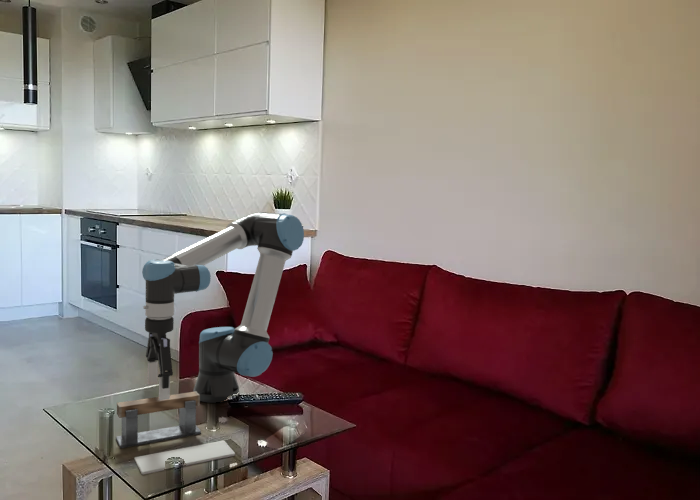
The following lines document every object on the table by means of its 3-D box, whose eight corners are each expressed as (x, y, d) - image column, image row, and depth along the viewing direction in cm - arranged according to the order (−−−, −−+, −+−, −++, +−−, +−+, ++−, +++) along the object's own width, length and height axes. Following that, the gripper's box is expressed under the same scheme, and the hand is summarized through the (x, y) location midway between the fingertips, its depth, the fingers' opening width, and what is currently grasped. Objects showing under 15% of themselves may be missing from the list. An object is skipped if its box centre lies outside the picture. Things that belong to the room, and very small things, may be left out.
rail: (196, 401, 178) (196, 391, 178) (199, 405, 175) (199, 395, 175) (116, 413, 167) (116, 402, 166) (119, 418, 164) (119, 407, 163)
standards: (194, 425, 180) (194, 393, 179) (200, 433, 175) (201, 400, 174) (116, 439, 169) (115, 404, 168) (120, 448, 163) (120, 412, 162)
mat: (223, 442, 170) (223, 440, 170) (235, 455, 162) (235, 453, 162) (134, 459, 157) (134, 457, 157) (142, 474, 150) (142, 472, 150)
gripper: (135, 308, 177) (134, 379, 179) (156, 327, 155) (155, 408, 157) (162, 307, 180) (160, 376, 183) (185, 325, 159) (183, 403, 161)
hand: (158, 391), depth 170 cm, fingers open, 13 cm apart
